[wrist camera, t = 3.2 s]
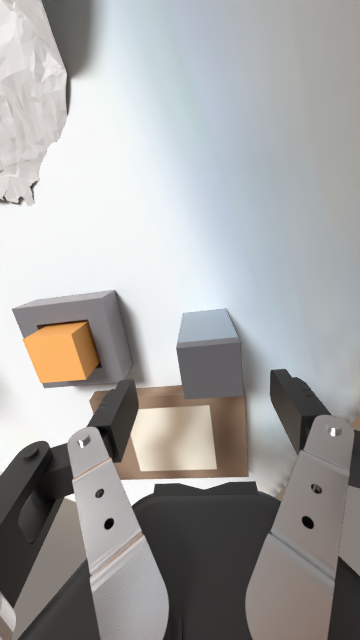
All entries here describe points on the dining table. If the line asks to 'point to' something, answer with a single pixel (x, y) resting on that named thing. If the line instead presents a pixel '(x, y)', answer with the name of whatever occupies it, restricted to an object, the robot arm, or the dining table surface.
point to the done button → (63, 351)
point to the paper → (28, 95)
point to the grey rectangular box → (209, 355)
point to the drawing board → (183, 436)
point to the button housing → (102, 323)
